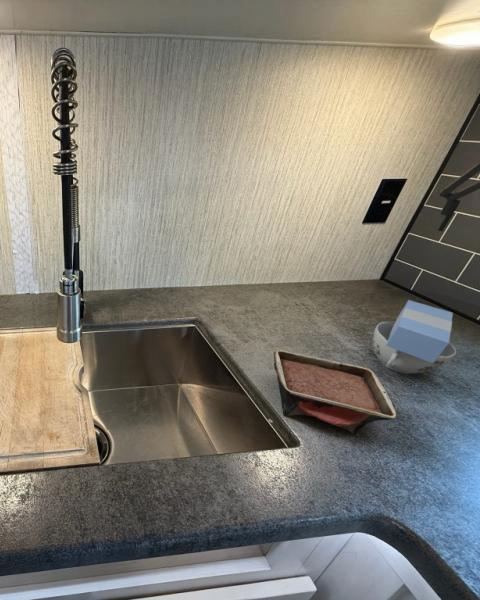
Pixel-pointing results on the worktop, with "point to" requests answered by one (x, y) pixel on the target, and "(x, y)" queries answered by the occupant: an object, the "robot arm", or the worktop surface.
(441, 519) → the worktop surface
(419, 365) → the teacup
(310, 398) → the baking dish
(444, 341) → the tea packet
